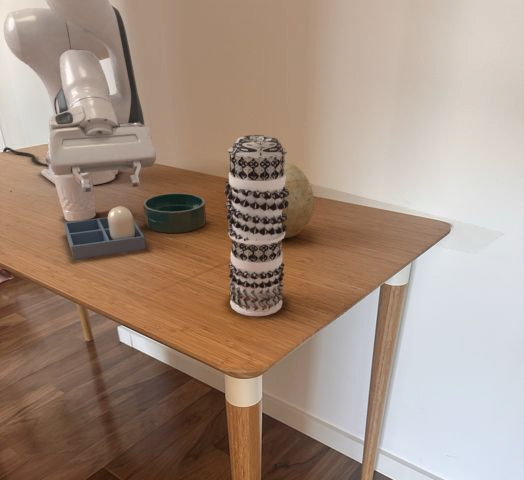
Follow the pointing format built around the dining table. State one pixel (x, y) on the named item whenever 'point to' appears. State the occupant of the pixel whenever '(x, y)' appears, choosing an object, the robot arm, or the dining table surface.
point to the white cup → (75, 197)
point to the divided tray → (99, 239)
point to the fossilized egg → (297, 200)
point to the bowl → (174, 212)
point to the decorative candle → (256, 224)
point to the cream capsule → (121, 223)
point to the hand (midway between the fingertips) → (111, 188)
